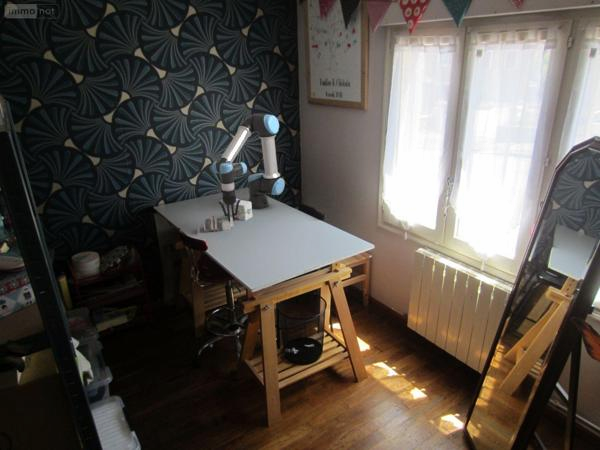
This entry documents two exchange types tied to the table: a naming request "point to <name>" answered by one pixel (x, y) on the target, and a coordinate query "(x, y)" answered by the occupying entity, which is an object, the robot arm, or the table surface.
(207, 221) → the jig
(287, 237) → the table surface
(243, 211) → the ink box
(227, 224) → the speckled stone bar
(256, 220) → the table surface
